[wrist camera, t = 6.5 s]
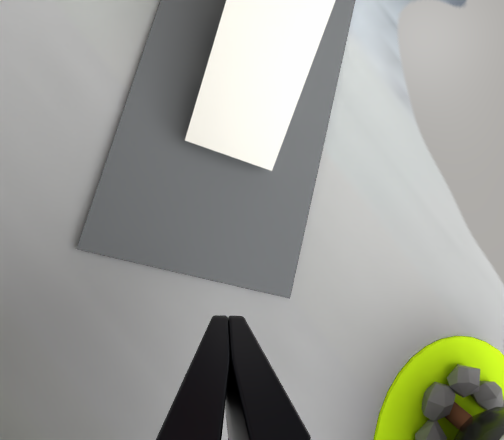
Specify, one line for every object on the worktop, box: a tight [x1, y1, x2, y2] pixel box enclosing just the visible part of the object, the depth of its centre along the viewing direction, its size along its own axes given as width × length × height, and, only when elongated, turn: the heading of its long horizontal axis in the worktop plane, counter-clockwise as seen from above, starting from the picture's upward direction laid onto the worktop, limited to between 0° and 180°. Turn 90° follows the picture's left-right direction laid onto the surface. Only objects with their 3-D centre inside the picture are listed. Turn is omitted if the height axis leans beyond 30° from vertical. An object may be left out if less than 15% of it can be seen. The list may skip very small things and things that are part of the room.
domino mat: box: [77, 0, 355, 298], centre depth 19 cm, size 28×12×1 cm, turn 165°
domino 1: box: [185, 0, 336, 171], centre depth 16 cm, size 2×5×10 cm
